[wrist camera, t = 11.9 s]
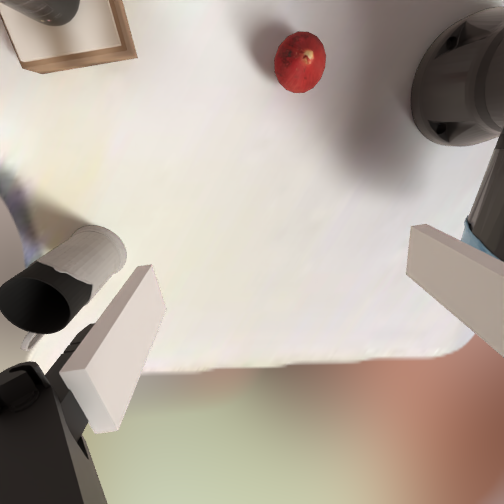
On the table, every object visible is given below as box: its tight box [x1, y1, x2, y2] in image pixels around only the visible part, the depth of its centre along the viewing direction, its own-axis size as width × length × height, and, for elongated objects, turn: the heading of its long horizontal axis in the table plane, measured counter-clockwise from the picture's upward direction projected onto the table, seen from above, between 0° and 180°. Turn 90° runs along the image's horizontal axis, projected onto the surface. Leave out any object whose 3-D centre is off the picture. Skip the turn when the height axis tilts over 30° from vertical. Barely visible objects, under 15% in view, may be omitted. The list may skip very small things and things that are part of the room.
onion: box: [274, 31, 326, 93], centre depth 31 cm, size 6×6×8 cm
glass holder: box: [0, 226, 127, 351], centre depth 37 cm, size 9×14×15 cm, turn 148°
